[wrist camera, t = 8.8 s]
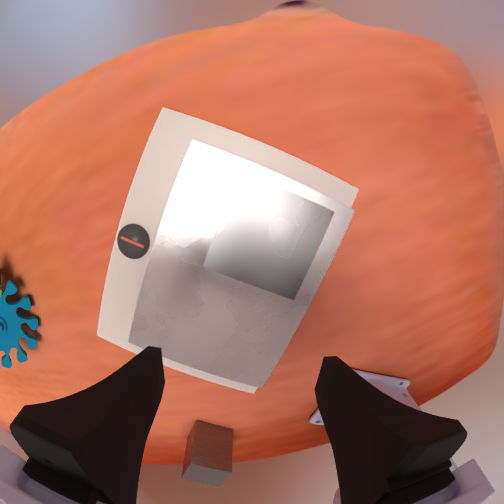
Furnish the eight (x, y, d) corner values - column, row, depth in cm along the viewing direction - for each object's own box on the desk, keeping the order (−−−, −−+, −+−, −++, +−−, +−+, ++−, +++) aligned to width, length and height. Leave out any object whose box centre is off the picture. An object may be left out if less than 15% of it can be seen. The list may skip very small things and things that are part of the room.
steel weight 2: (275, 260, 17) (293, 300, 11) (215, 236, 16) (202, 266, 11) (301, 201, 16) (334, 211, 10) (240, 175, 16) (240, 170, 10)
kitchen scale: (347, 188, 19) (363, 189, 16) (252, 379, 23) (254, 400, 20) (170, 114, 17) (159, 104, 14) (106, 324, 21) (92, 340, 18)
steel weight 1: (232, 428, 24) (232, 472, 19) (220, 445, 25) (219, 486, 20) (196, 419, 24) (190, 463, 18) (187, 437, 25) (181, 477, 19)
